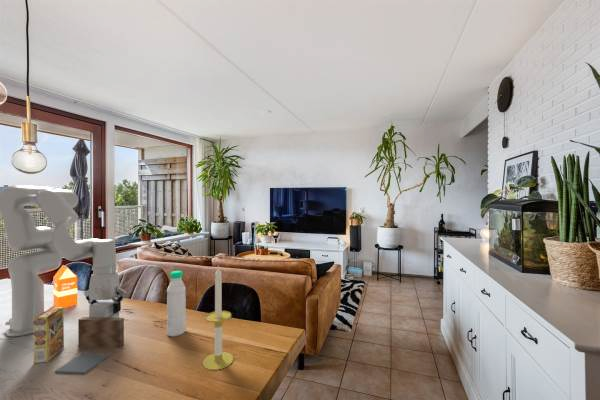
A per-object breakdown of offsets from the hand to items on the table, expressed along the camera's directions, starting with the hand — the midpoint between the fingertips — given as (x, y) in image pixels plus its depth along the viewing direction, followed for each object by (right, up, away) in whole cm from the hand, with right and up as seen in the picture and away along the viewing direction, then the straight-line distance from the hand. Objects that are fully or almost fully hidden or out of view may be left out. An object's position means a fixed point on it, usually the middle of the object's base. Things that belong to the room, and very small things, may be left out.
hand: (105, 312), depth 110 cm
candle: (+52, -9, -19) cm, 56 cm away
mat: (+7, -9, -20) cm, 23 cm away
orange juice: (-42, -9, +29) cm, 52 cm away
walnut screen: (+5, -9, -9) cm, 14 cm away
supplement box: (0, -9, 0) cm, 9 cm away
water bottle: (+29, -9, 0) cm, 30 cm away
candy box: (-8, -9, -16) cm, 20 cm away
